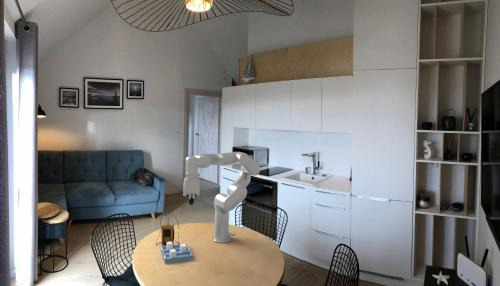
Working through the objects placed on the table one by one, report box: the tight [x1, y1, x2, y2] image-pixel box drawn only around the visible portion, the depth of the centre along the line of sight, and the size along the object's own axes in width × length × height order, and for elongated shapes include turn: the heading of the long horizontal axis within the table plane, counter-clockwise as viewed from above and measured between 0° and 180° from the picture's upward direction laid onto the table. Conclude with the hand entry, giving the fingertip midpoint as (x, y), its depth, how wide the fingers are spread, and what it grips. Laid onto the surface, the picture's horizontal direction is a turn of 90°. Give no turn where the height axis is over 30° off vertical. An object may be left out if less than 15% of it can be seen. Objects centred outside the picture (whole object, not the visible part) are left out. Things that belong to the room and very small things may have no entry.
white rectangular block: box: [179, 243, 186, 252], centre depth 195 cm, size 3×4×4 cm
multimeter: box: [155, 214, 181, 246], centre depth 211 cm, size 15×10×20 cm
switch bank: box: [160, 243, 194, 264], centre depth 194 cm, size 16×18×3 cm
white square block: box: [170, 249, 176, 258], centre depth 187 cm, size 3×4×4 cm
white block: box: [166, 241, 174, 250], centre depth 198 cm, size 3×4×4 cm
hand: (191, 204), depth 206 cm, fingers closed
